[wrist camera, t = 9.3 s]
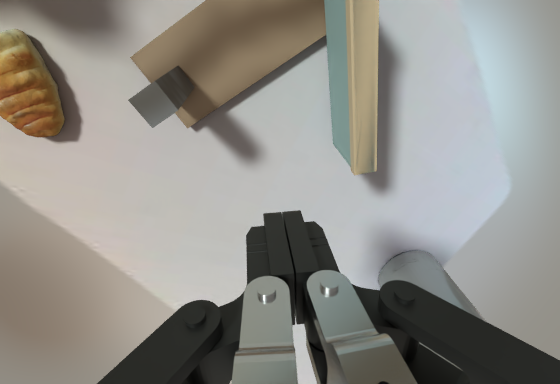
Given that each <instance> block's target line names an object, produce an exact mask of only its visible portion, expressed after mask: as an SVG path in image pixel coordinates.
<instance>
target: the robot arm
mask: <svg viewBox="0 0 560 384" xmlns="http://www.w3.org/2000/svg"><path fill="white" fill-rule="evenodd" d="M263 215H264V226H258V227H251V229H250V230H249V232H248V234H247V235H246V244H247V286H246V288H245V291H244V292H243V294H242V295H241V296H240V297H239V298H237V299H236V300H234V301H233V302H230V303H228V304H225V305H223V306H220V307H218V306H217V305H216V304H214V303H213V302H210V301H207V300H197V301H193V302H190V303H187V304H185V305H184V306H182V307H181V308H180V309H178V310H177V311H176V312H175V313H174V314H173V315H172V316H171V317H170V318H169V319H167V320H166V321H165V322H164V323H163V324H162V325H161V326H160V327H159V328H158V329H156V330H155V331H154V332H153V333H152V334H151V335H150V336H149V337H148V338H147V339H146V340H144V341H143V342H142V343H141V344H140V345H139V346H138V347H137V348H136V349H134V350H133V351H132V352H131V353H130V354H129V355H128V356H127V357H126V358H125V359H124V360H122V361H121V362H120V363H119V364H118V365H117V366H116V367H115V368H114V369H113V370H111V371H110V372H109V373H108V374H107V375H106V376H105V377H104V378H103V379H102V380H101V381H99V382H98V383H97V384H229V383H230V381H231V380H232V384H298V380H297V368H296V356H295V348H294V343H293V330H292V325H295V317H296V322H297V324H304V325H305V330H306V346H307V350H308V353H309V357H310V360H311V364H312V367H313V371H314V374H315V377H316V381H317V384H560V360H557V359H556V358H554V357H552V356H550V355H548V354H546V353H544V352H543V351H541V350H538V349H537V348H535V347H533V346H531V345H529V344H527V343H525V342H523V341H522V340H520V339H517V338H516V337H514V336H512V335H510V334H508V333H506V332H504V331H502V330H501V329H499V328H497V327H494V326H493V325H491V324H489V323H487V322H486V320H485V319H484V318H483V317H482V316H481V315H480V313H479V312H478V311H477V310H476V308H475V307H474V306H473V305H472V303H471V302H470V301H469V300H468V298H467V297H466V296H465V295H464V294H463V292H462V291H461V290H460V289H459V288H458V286H457V285H456V284H455V283H454V281H453V280H452V279H451V278H450V276H449V275H448V274H447V273H446V272H445V270H444V269H443V268H442V267H441V265H440V264H439V263H438V262H437V261H436V259H435V258H434V257H433V256H432V255H431V254H429V253H427V252H424V251H409V252H405V253H402V254H400V255H397V256H396V257H394V258H392V259H391V260H390V261H389V262H388V263H386V265H385V266H384V267H383V268H382V270H381V272H380V275H379V285H380V287H381V289H380V291H379V290H372V289H366V288H361V287H358V286H355V285H353V284H351V282H350V281H349V279H348V278H347V277H346V276H344V275H343V274H341V273H340V271H339V269H338V266H337V264H336V261H335V259H334V256H333V254H332V251H331V249H330V246H329V244H328V241H327V239H326V236H325V234H324V231H323V229H322V228H321V227H320V226H319V225H318V224H317V223H316V222H314V221H313V222H304V220H303V217H302V214H301V211H300V210H299V211H288V212H282V213H281V212H277V213H265V214H263Z"/></svg>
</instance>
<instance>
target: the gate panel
mask: <svg viewBox="0 0 560 384" xmlns="http://www.w3.org/2000/svg"><path fill="white" fill-rule="evenodd" d="M324 4H325V21H326V37H327V53H328V70H329V86H330V103H331V119H332V135H333V144H334V146H335V147H336V148H337V150H338V151H339V152H340V154H341V155H342V156H343V158H344V159H345V160H346V162H347V163H348V164H349V165H350V167H351V171H352V173H353V174H354V175H358V174H364V173H370V172H375V171H377V102H378V30H379V0H324Z"/></svg>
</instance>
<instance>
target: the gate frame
mask: <svg viewBox="0 0 560 384" xmlns="http://www.w3.org/2000/svg"><path fill="white" fill-rule="evenodd" d="M325 35H326V21H325V4H324V0H206V1H204V2H203V3H202V4H200V5H199V6H198V7H196V8H195V9H194V10H192V11H191V12H190V13H188V14H187V15H186V16H184V17H183V18H182V19H180V20H179V21H178V22H177V23H175V24H174V25H173V26H171V27H170V28H169V29H167V30H166V31H165V32H163V33H162V34H161V35H159V36H158V37H157V38H155V39H154V40H153V41H151V42H150V43H149V44H147V45H146V46H145V47H143V48H142V49H141V50H139V51H138V52H137V53H135V54H134V55H133V56H132V57H130V58H131V59H132V60H133V62H134V63H135V64H136V65H137V66H138V68H139V69H140V70H141V71H142V73H143V74H144V75H145V76H146V78H147V79H148V80H149V81H150V83H151V84H150V85H148V86H147V87H146V88H144V89H143V90H142V91H140V92H139V93H137V94H136V95H135V96H133V97H132V98H131V99H129V100H128V101H129V102H130V103H131V104H132V105H133V106H134V107H135V109H136V110H137V111H138V112H139V113H140V114H141V115H142V117H143V118H144V119H145V120H146V121H147V122H148V123H149V125H150V126H151V127H152V128H153V127H155V126H156V125H158V124H159V123H161V122H162V121H163V120H165V119H166V118H168V117H169V116H171V115H172V114H174V113H176V115H177V116H178V117H179V118H180V120H181V121H182V122H183V123H184V125H185V126H186V127H187V128H189V127H190V126H192V125H193V124H195V123H196V122H198V121H199V120H201V119H202V118H204V117H205V116H206V115H208V114H209V113H211V112H212V111H214V110H215V109H217V108H218V107H220V106H221V105H223V104H224V103H226V102H227V101H229V100H230V99H232V98H233V97H235V96H236V95H238V94H239V93H241V92H242V91H243V90H245V89H246V88H248V87H249V86H251V85H252V84H254V83H255V82H257V81H258V80H260V79H261V78H263V77H264V76H266V75H267V74H269V73H270V72H272V71H273V70H275V69H276V68H278V67H279V66H280V65H282V64H283V63H285V62H286V61H288V60H289V59H291V58H292V57H294V56H295V55H297V54H298V53H300V52H301V51H303V50H304V49H306V48H307V47H309V46H310V45H312V44H313V43H314V42H316V41H317V40H319V39H320V38H322V37H323V36H325Z"/></svg>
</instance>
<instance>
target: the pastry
mask: <svg viewBox="0 0 560 384" xmlns="http://www.w3.org/2000/svg"><path fill="white" fill-rule="evenodd" d="M0 116H1V117H2V118H3V119H5V120H7V121H8V122H9V123H11V124H12V125H13V126H14V127H16V128H17V129H19V130H21V131H22V132H24V133H25V134H27V135H29V136H34V137H49V136H55V135H57V134H59V132H60V130H61V128H62V126H63V124H64V121H65V118H64V115H63V110H62V108H61V101H60V98H59V95H58V85H57V83H56V82H55V81H54V80H53V79H52V77H51V74H50V72H49V71H48V69H47V67H46V65H45V63H44V60H43V58H42V57H41V55H40V54H39V52H38V51H37V49H36V47H35V46H34V45H33V43H32V42H31V40H30V38H29V37H28V36H27V35H26V34H25V33H24V32H23V31H20V30H18V29H12V30H6V31H1V32H0Z"/></svg>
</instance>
